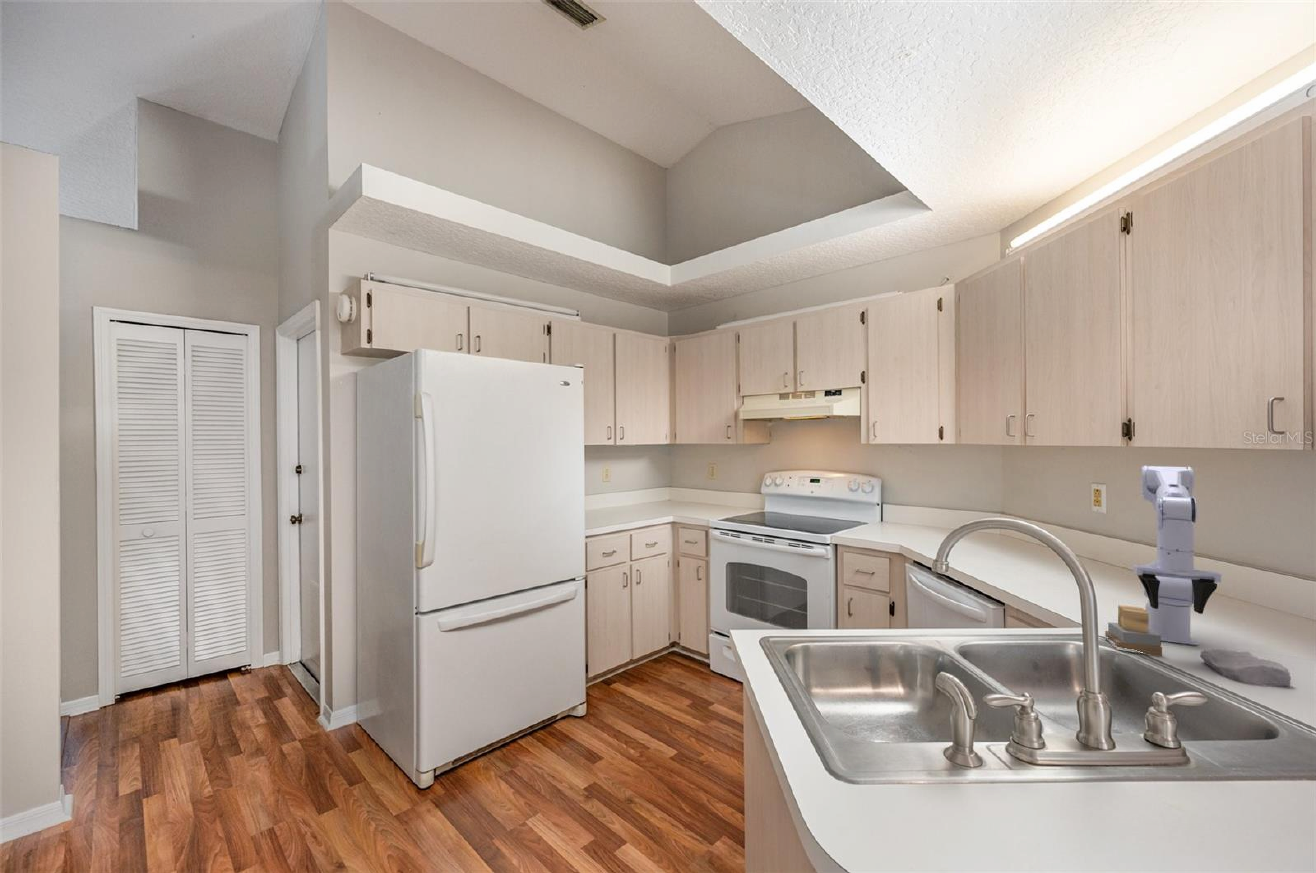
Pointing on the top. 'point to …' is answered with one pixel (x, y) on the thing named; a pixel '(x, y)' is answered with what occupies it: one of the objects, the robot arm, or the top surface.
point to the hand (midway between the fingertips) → (1176, 610)
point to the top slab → (1134, 635)
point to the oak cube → (1133, 618)
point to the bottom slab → (1136, 646)
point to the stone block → (1246, 667)
